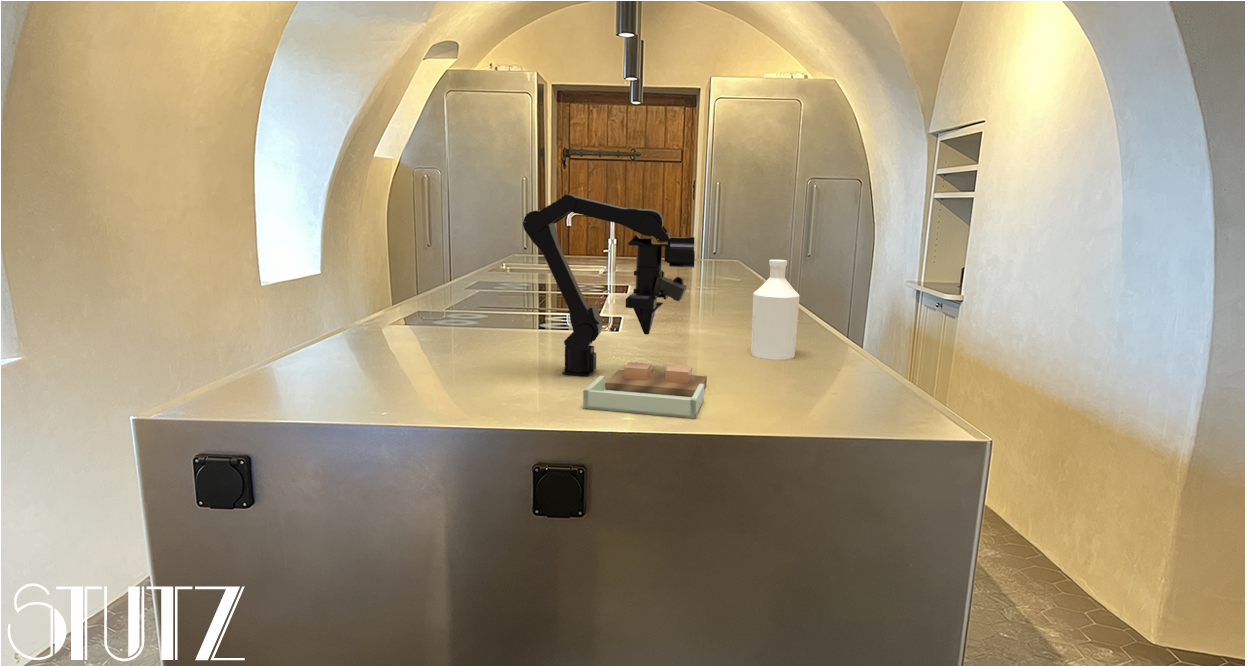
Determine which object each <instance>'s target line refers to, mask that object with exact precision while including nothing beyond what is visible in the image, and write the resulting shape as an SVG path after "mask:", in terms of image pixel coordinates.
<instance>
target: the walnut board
mask: <svg viewBox="0 0 1250 666" xmlns="http://www.w3.org/2000/svg"><path fill="white" fill-rule="evenodd" d="M707 377H708V376H706V375H693V374H692V378H691V380H690V382H689V383H688V384H685V383H673V382H665V372H655V371H651V376H650V377H649V378H648V379H647V380H636V379H624V369H618V370H617V371H616V372H615V373H614V374H613V375H611V376H610V377H609V378H608V379H607V381H606V380H605V390H613V391H624V392H636V393H648V394H660V395H671V396H683V397H692V396H693V395H694V393H695V391H696V389H697V387H698V385H699V384H704V390H705V389H706V387H707V383H708V382H707V379H708V378H707Z"/></svg>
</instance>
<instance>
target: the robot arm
mask: <svg viewBox="0 0 1250 666" xmlns="http://www.w3.org/2000/svg"><path fill="white" fill-rule="evenodd" d="M571 213H572V214H577V215H582V216H586V217H591V218H592V219H593V218H595V219H597V220H598V219H599V220H602V221H607V222H611V223H615V224H619V225H622V226H624V227H625V228H627V229H630V230H632V231H634V232H635V234H634V236H633V238H632V239H631V240H630V241H628V242H627V245H628V246H634V247H636V261H635V262H636V263H635V270H634V271H633V276H635V288H633V290H632V291H633V293H631V294H629V296H627V297H626V298H625V309H633V311H634V313H635V315H636V318H637V321H638V324H639V325H640V328H641V330H642V332H643V335H645V336H646V335H649V334H650V333H651V329H652V325H653V321H654V317H655V314H656V311H657V310H658V309H660V308H661V306H662V305H663V304H664V302H658V298H661V299H663V300H667V299H668V298H672V300H673V301H676V302H680V301H681V300H683V297H684V294H685V292H686V290H687V285H686V284H685V283H684V278H682V277H680V276H676V277H675V278H674V279H672V278H667V277H665V271H664V270H663V269H662V264H663V263H662V262H663V247H664V263H667V264H668V265H669V266H668V267H670V268H671V267H672V268H692V269H693V268H695V264H696V263H695V261H696V250H695V240H696V239H695V238H696V237H695V236H686V237H685V236H684V237H681V236H671V234H670V232H669V231H668V230H667V228H666V227H665V225H664V222H665V221H664V217H663V215H662V213H661V212H660V211H659V210H656V209H653V208H652V209H651V208H633V207H623V206H618V205H614V204H611V203H605V202H601V201H599V200H594V199H590V198H585V197H582V196H578V195H576V194H574V193H567V194H564V195H563V196H561V198H559V199H558V200H556V201H554V202H553V203H550V204H548V205H547V206H545V207H544V208H542V209H539V210H532V211H530V212H528V213H526V215H525V216H524V218H523V221H522V227H523V230H524V232H525V233H526V234H527V236H528V237H529V238H530V240H531V242H532V243H533V244H534V245H535V246H536V247H537V248H538V249H539V251H540V252H541V253H542V255H543V257H544V259H545V261H546V263H547V266H548V267H549V270H550V273H551V274H552V276H553V278H554V281H555V282H556V285H557V286H558V289H559V291H560V293H561V295H562V298H563V300H564V301H565V304H566V306H567V308H568V312H569V320H570V324H571V327H572V328H571V329H572V332H571V333H570V334H569V335H568V336H567V337H566V338H565V339H564V341H563V343H564V370H563V371H562V375H569V376H570V375H572V376H584V377H589V376H591V375H592V374H593V373H594V372H596V371H597V352H595V345H592V343H593V342H594V341H596V340H597V338H598V337H599V336H600V334H601V332H602V330H603V322H602V321H603V320H604V317H602V315H600V312H599V309H598V306H597V304H596V303H594V304H592V305H590V303H588V301H586V299H585V298H584V295H583V292H582V291H581V288H580V286H579V285H578V282H577V280H576V278H575V276H574V274H573V271H572V269H571V267H570V265H569V263H568V261H567V259H566V257H565V255H564V253H563V250H562V248H561V245H560V243H559V236H558V231H557V227H556V226H557V225H556V224H557V223H559V222H561V221H562V220H563V219H564V218H567V216H568V215H570V214H571ZM636 233H638V234H640V235H642V236H646V237H647V238H645V237H640V236H639V235H638V234H636ZM648 237H649V238H648ZM652 237H653V238H655V239H656V240H657V241H659V242H654V241H653V238H652ZM665 242H667V243H665Z"/></svg>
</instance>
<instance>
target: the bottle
mask: <svg viewBox="0 0 1250 666" xmlns="http://www.w3.org/2000/svg"><path fill="white" fill-rule="evenodd" d="M768 264H769V277H768V278H767V280H766V281H764V282H763V284H762V285H760V287H759V288H758V289H756V290H755V291H754V292H753V293H752V313H751V314H752V316H751V317H752V318H751V319H752V320H751V340H750V341H751V342H750V344H751V346H750V348H751V349H750V355H751V356H753V357H756V358H759V359H765V360H774V361H777V360H778V361H779V360H780V361H784V360H791V359H793V358H795V356H796V355H795V353H796V342H797V341H796V340H797V333H798V332H797V330H798V321H799V320H798V319H799V307H800V296H801V295H800V294H799V293H798V291H796V290H795V289H794V288H793V287H792V285H791V284H790V283H789V281H788V280H787V279H786V269H787V268H786V267H787V266H788V260H787V259H769V263H768Z"/></svg>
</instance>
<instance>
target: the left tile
mask: <svg viewBox="0 0 1250 666" xmlns="http://www.w3.org/2000/svg"><path fill="white" fill-rule="evenodd" d="M623 370H624V379H636V380H647V379H648V378H649V377H650V376H651V372H652V363H644V362H633V361H632V362H631V361H630V362H628V363H627V364H626V365H625V366H624V367H623Z"/></svg>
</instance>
